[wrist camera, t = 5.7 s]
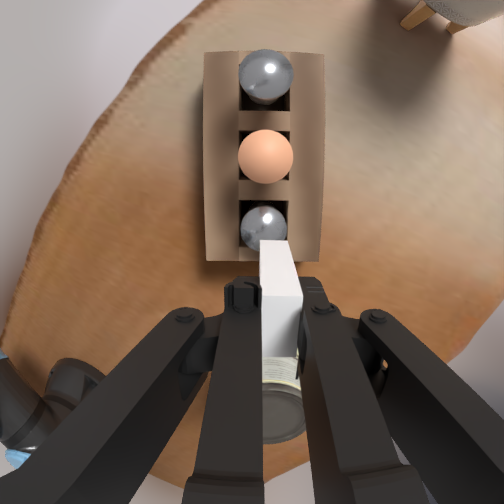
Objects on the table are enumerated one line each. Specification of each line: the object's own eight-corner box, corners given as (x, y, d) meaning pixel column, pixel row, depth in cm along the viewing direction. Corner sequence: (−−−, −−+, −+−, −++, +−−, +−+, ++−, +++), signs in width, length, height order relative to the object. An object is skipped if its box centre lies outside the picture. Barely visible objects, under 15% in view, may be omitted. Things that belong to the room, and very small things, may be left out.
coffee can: (289, 377, 46) (298, 447, 32) (225, 367, 45) (215, 438, 32) (309, 324, 42) (327, 394, 29) (236, 311, 42) (228, 382, 28)
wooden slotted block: (213, 243, 38) (206, 260, 33) (212, 66, 31) (204, 52, 26) (309, 244, 38) (318, 261, 33) (313, 68, 31) (324, 54, 25)
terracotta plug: (242, 175, 31) (238, 183, 24) (242, 134, 30) (238, 129, 23) (284, 176, 31) (292, 184, 24) (285, 134, 30) (293, 130, 23)
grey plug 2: (243, 231, 37) (240, 251, 30) (243, 195, 35) (240, 207, 29) (280, 232, 37) (286, 252, 30) (281, 195, 35) (287, 207, 29)
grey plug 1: (242, 109, 29) (238, 98, 22) (242, 70, 28) (238, 49, 21) (285, 110, 29) (293, 99, 22) (285, 71, 28) (293, 50, 21)
